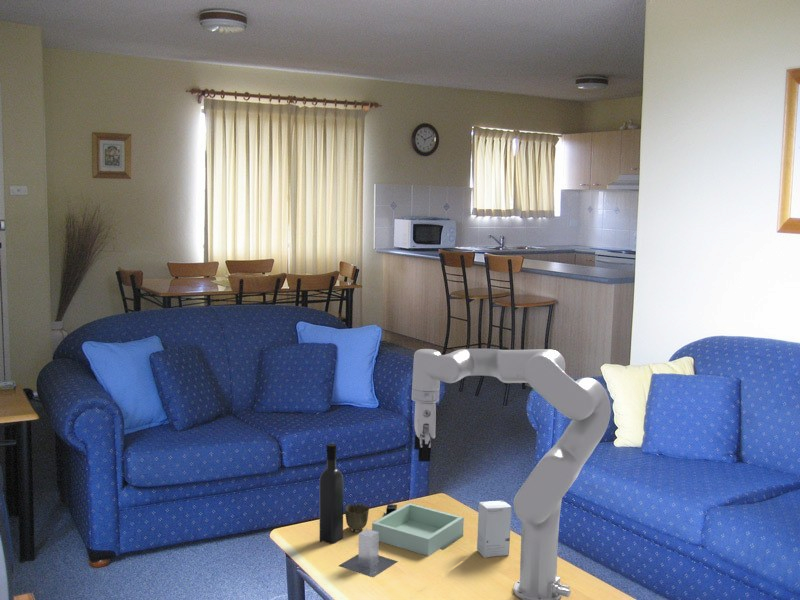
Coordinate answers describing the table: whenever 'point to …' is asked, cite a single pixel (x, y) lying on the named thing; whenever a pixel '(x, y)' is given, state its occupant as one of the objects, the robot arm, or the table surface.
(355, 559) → the stud plate
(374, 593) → the table surface
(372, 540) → the strut
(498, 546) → the skincare box
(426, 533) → the bin
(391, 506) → the black slotted box
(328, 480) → the wine bottle
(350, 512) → the cup
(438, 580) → the table surface
